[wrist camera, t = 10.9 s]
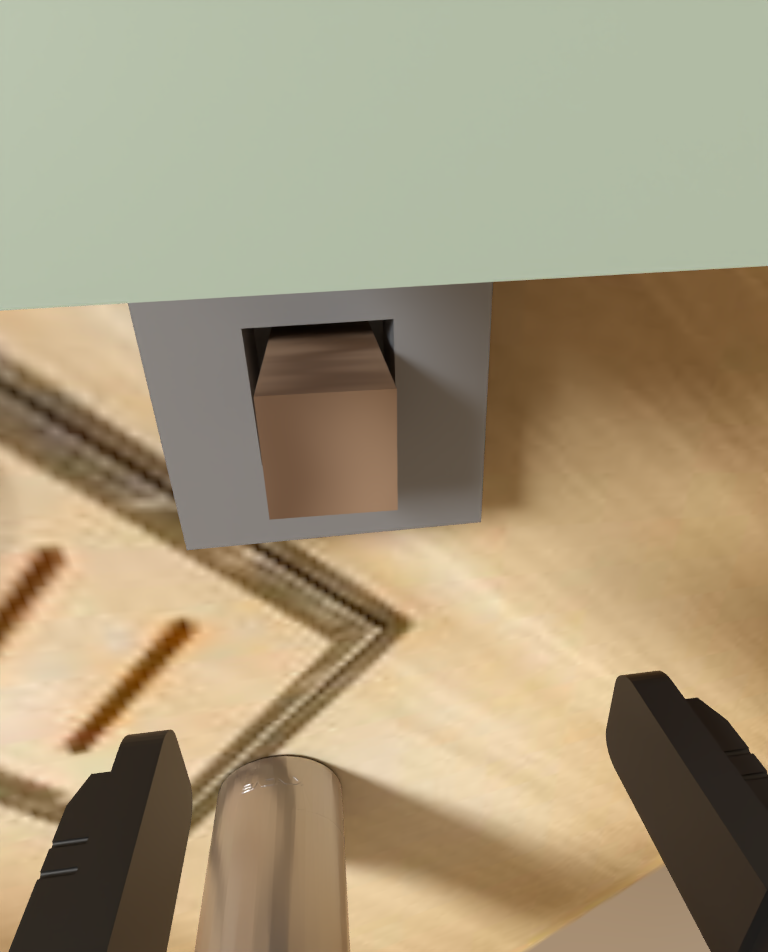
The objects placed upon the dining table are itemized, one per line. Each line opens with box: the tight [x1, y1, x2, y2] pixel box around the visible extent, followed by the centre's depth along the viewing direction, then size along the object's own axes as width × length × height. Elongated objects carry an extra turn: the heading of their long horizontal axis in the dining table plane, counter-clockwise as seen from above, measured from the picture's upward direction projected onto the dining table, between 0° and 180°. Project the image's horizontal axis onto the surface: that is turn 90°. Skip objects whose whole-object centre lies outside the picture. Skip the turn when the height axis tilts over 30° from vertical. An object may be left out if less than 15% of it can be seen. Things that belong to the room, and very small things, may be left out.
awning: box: [0, 0, 768, 310], centre depth 14 cm, size 7×17×22 cm, turn 92°
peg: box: [254, 321, 398, 520], centre depth 23 cm, size 4×4×10 cm
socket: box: [128, 282, 493, 550], centre depth 25 cm, size 18×14×5 cm
